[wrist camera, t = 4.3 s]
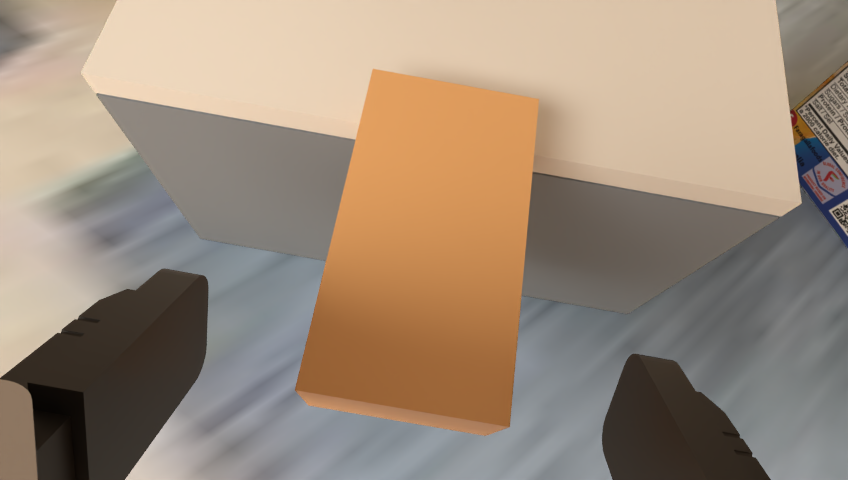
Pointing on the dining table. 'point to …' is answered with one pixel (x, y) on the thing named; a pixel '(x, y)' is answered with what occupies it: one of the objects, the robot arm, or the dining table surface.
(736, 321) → the dining table surface
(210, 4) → the lid flap
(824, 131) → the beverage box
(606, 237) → the carton
